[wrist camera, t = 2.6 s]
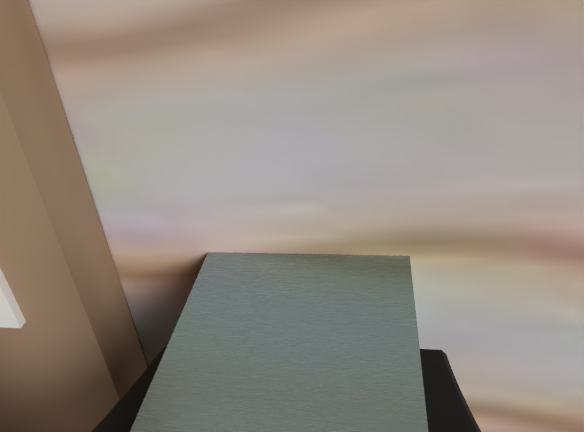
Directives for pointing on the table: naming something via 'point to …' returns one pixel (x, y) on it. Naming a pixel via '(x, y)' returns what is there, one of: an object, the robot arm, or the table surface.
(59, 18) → the table surface
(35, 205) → the press bed
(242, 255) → the block
